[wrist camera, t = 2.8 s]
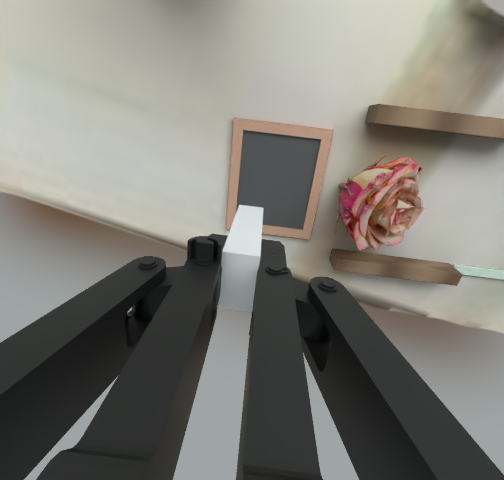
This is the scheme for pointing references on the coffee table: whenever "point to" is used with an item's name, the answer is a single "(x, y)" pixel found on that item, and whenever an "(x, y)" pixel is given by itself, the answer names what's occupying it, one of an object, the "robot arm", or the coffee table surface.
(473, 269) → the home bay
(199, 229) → the coffee table surface
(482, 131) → the brown slabs
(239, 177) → the framed chalkboard
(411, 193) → the flower
